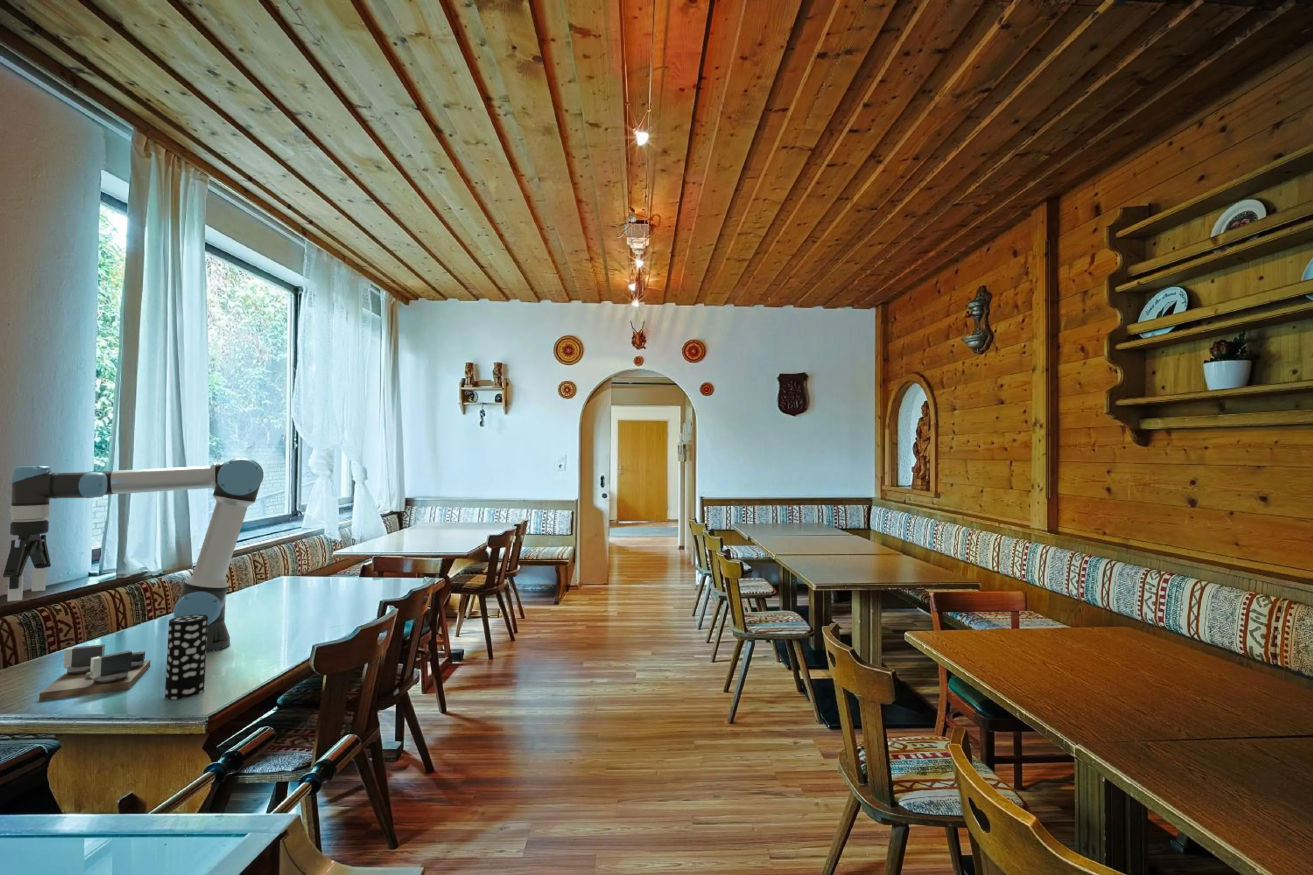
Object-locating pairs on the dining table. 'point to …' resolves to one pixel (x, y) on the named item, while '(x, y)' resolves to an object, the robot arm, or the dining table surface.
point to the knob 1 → (81, 658)
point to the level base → (89, 684)
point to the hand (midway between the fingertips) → (27, 595)
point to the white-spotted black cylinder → (186, 656)
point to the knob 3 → (137, 659)
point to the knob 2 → (110, 667)
